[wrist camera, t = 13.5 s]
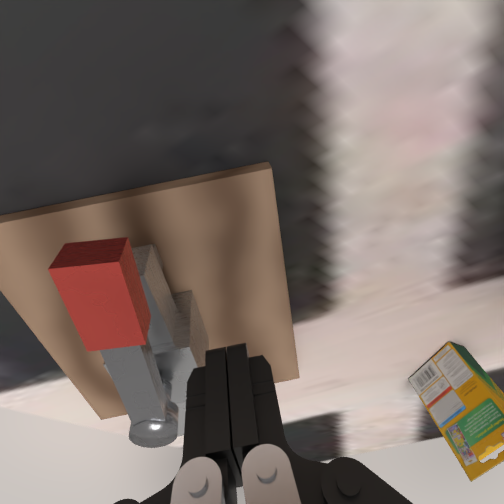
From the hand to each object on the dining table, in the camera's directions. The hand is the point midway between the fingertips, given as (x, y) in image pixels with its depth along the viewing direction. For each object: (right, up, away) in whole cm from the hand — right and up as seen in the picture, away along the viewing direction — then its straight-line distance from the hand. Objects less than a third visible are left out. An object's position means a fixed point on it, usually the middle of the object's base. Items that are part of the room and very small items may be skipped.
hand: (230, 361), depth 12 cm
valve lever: (-6, -1, +8) cm, 10 cm away
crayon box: (+23, -9, +28) cm, 38 cm away
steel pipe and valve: (-7, -2, +17) cm, 19 cm away
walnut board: (-7, -1, +18) cm, 20 cm away
